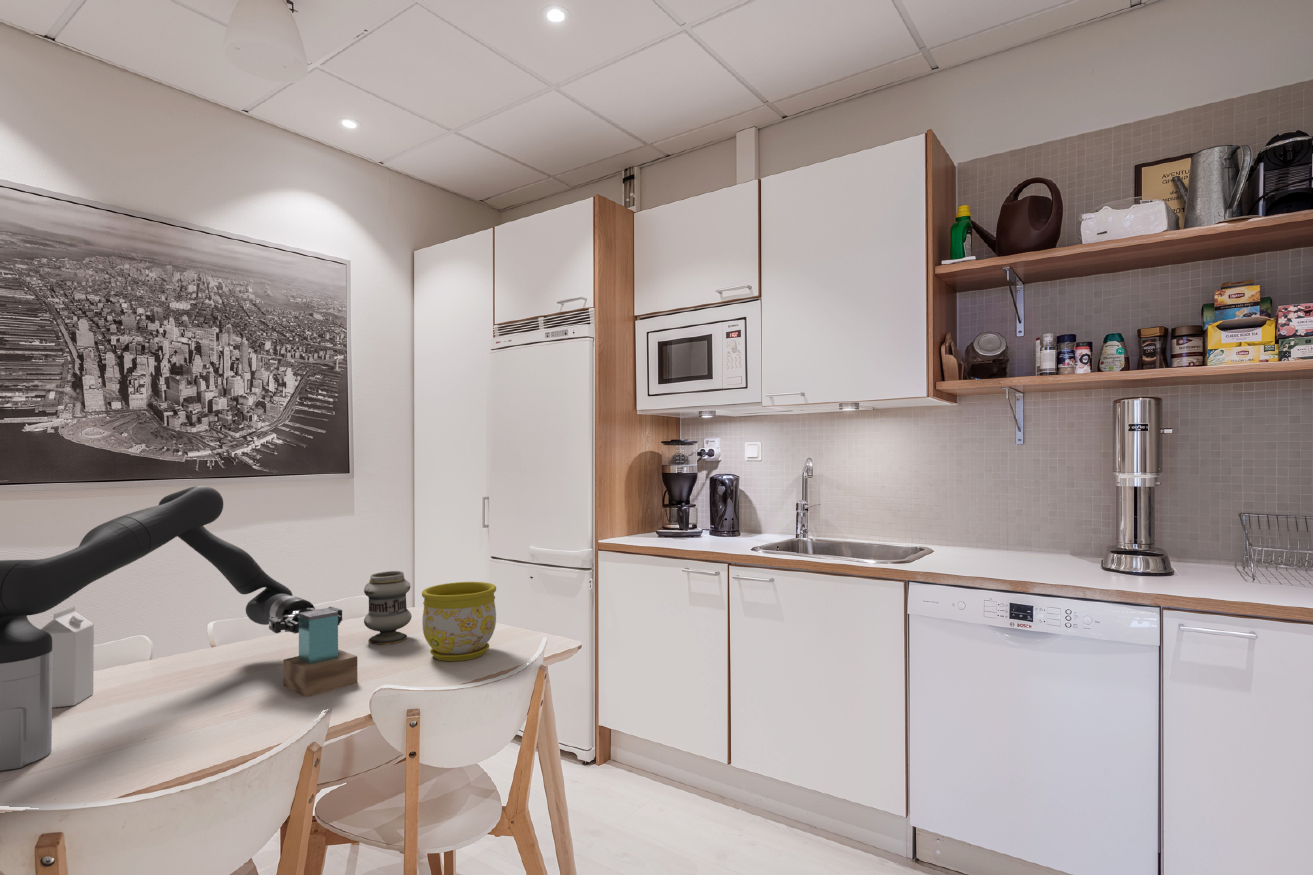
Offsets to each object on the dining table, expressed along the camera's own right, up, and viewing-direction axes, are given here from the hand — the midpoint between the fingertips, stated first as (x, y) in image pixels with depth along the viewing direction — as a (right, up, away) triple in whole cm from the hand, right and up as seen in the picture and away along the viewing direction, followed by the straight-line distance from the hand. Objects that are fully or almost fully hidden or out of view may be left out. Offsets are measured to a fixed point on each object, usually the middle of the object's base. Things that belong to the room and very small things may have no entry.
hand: (318, 624), depth 146 cm
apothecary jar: (+1, -14, +35) cm, 37 cm away
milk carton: (-48, -14, -9) cm, 51 cm away
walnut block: (+1, -13, 0) cm, 13 cm away
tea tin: (0, -7, 0) cm, 7 cm away
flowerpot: (+25, -13, +21) cm, 35 cm away
